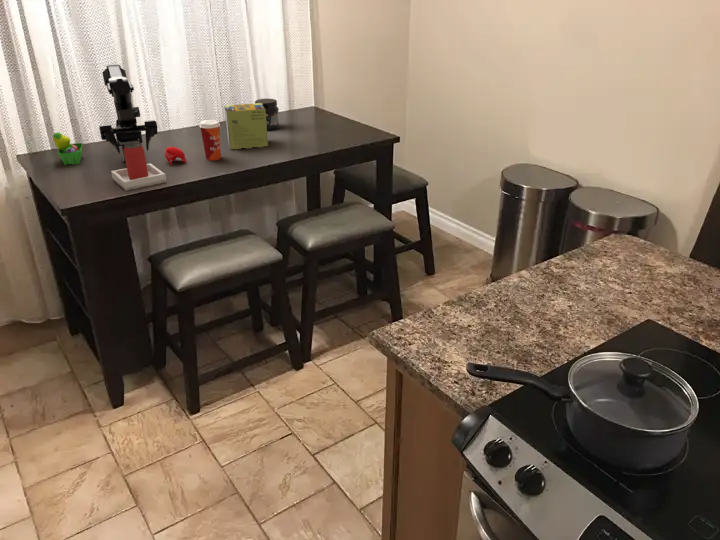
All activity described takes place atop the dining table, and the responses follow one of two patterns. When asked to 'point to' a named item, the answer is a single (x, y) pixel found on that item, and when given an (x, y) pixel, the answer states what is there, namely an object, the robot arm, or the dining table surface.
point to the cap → (174, 154)
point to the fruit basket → (68, 149)
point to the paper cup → (211, 139)
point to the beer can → (135, 160)
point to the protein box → (246, 125)
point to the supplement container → (270, 113)
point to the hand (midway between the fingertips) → (133, 151)
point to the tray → (153, 178)
